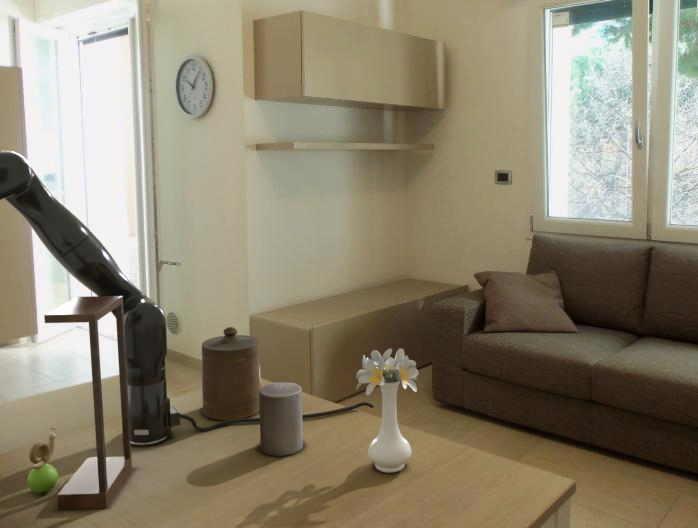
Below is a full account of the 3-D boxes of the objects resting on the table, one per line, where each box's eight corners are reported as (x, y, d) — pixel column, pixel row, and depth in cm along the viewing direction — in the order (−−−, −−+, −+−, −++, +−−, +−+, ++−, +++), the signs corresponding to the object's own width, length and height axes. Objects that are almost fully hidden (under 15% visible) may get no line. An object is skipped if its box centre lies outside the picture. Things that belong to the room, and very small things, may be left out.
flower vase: (419, 447, 155) (419, 340, 152) (417, 486, 137) (417, 365, 134) (362, 445, 157) (361, 339, 153) (352, 484, 138) (351, 364, 135)
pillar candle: (251, 452, 153) (249, 387, 152) (274, 435, 162) (273, 374, 160) (289, 459, 150) (288, 393, 148) (311, 441, 159) (309, 379, 157)
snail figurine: (68, 484, 139) (64, 428, 137) (43, 500, 133) (39, 440, 131) (47, 480, 141) (43, 424, 139) (21, 495, 135) (17, 437, 133)
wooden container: (272, 404, 182) (270, 323, 180) (238, 424, 169) (235, 337, 166) (226, 396, 188) (223, 318, 186) (190, 415, 175) (187, 331, 172)
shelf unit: (57, 509, 129) (44, 315, 124) (88, 470, 145) (77, 296, 140) (106, 508, 130) (94, 314, 125) (132, 469, 145) (122, 295, 141)
